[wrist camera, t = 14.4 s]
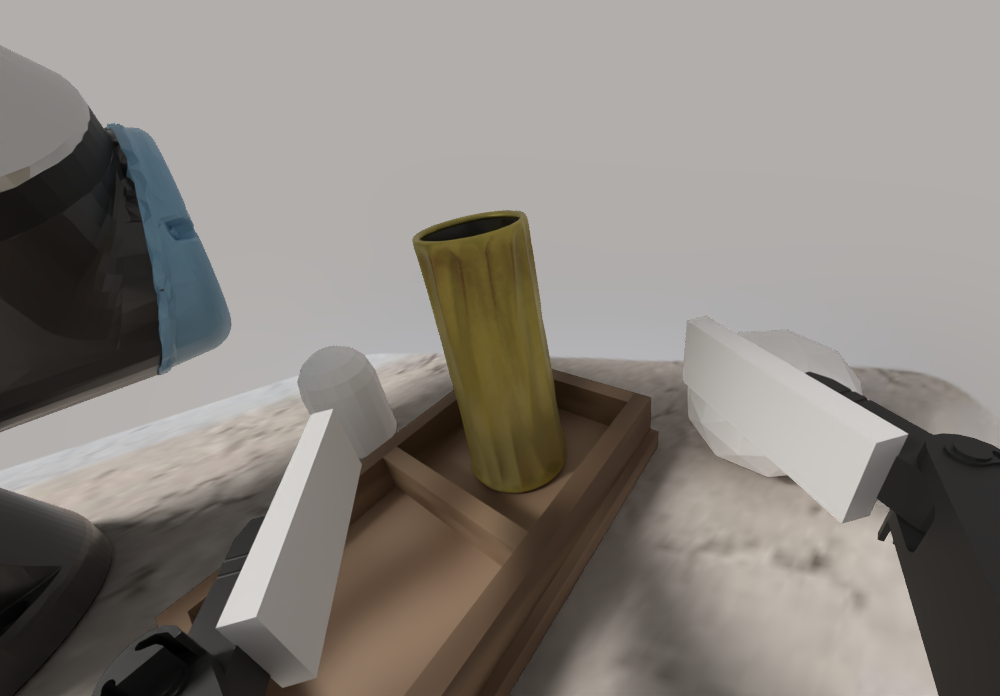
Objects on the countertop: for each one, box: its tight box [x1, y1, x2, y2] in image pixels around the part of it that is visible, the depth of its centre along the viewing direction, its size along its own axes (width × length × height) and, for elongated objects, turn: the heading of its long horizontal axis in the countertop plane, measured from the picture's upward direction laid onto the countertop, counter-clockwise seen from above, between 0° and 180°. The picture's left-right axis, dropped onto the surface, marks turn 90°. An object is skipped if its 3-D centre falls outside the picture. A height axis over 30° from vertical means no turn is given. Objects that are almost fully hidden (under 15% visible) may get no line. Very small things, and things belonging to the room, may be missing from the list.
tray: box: [155, 369, 658, 696], centre depth 20 cm, size 13×23×4 cm, turn 140°
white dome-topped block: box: [297, 346, 397, 459], centre depth 28 cm, size 5×5×8 cm
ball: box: [687, 330, 862, 477], centre depth 20 cm, size 8×8×8 cm
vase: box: [413, 210, 567, 493], centre depth 20 cm, size 6×6×14 cm
